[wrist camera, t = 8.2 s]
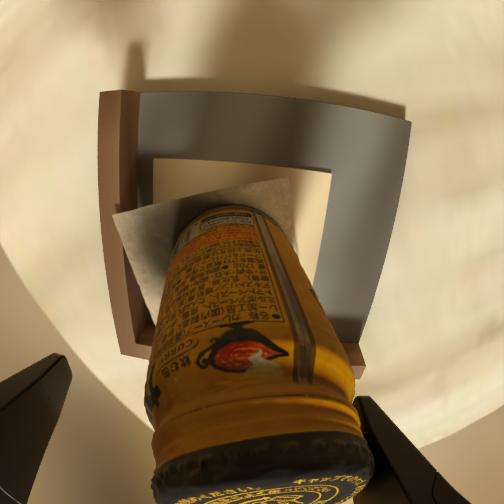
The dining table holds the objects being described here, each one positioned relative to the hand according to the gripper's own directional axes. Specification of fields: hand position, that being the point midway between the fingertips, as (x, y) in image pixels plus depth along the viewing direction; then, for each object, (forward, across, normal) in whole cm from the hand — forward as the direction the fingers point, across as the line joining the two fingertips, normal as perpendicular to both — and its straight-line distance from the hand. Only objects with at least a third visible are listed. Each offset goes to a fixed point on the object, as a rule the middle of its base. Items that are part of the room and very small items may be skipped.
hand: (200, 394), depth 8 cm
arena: (+10, -2, -2) cm, 11 cm away
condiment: (+8, +1, 0) cm, 9 cm away
